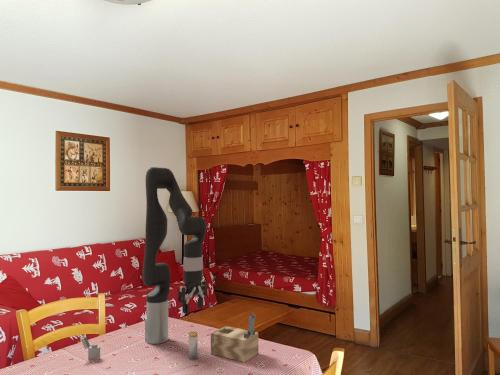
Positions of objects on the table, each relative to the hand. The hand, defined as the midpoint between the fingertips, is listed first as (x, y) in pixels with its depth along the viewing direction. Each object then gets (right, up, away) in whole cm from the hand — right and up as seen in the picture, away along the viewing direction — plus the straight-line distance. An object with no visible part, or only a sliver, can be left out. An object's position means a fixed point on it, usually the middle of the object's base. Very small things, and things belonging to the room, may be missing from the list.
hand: (193, 310), depth 146 cm
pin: (0, -18, -1) cm, 18 cm away
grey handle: (+22, -5, 0) cm, 23 cm away
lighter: (-40, -19, 0) cm, 44 cm away
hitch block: (+16, -18, +3) cm, 24 cm away
